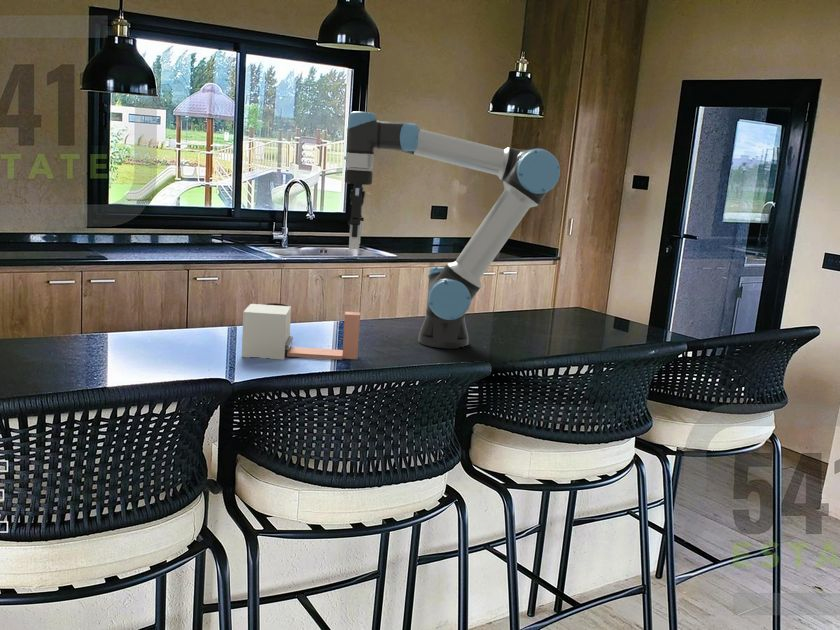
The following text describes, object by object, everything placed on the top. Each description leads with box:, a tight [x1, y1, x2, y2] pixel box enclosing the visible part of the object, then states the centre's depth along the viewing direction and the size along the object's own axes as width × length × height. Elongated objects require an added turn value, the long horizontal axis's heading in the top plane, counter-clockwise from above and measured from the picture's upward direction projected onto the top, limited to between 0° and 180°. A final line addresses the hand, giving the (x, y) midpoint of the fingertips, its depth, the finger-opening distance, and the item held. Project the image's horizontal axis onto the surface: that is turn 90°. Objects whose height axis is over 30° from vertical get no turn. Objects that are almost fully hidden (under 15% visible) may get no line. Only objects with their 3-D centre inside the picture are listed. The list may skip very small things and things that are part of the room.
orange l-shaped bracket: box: [286, 311, 361, 361], centre depth 226 cm, size 18×7×12 cm, turn 92°
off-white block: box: [241, 303, 294, 361], centre depth 225 cm, size 12×12×12 cm
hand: (354, 246), depth 236 cm, fingers open, 13 cm apart
